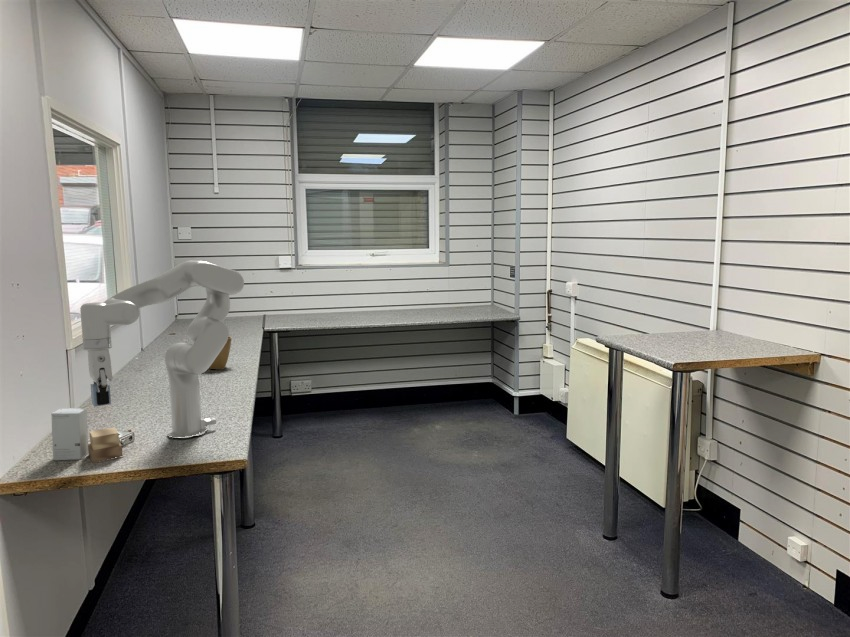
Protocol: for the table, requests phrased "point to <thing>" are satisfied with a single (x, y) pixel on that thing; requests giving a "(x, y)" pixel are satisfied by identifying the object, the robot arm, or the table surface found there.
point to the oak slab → (104, 438)
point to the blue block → (94, 396)
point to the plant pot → (222, 356)
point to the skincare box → (69, 434)
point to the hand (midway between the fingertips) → (101, 401)
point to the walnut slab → (104, 453)
